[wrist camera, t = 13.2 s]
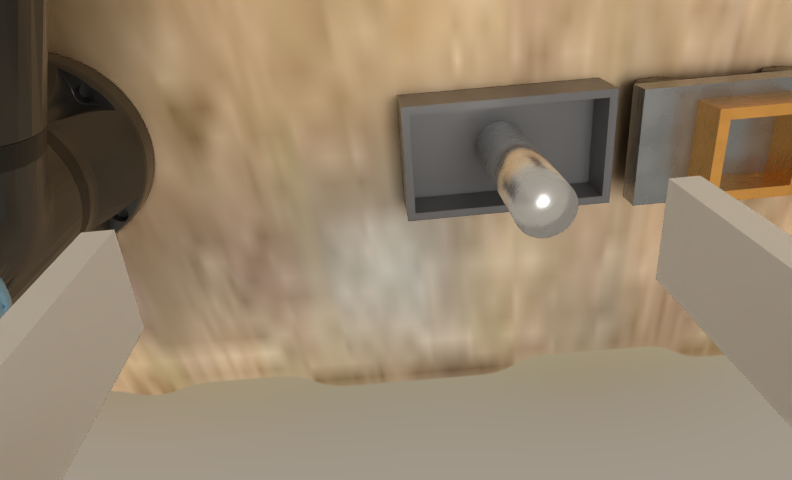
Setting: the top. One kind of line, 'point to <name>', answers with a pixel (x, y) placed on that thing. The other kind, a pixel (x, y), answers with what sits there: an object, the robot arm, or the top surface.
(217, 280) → the top surface
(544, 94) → the pin tray
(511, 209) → the pin
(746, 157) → the plate with orange frame
